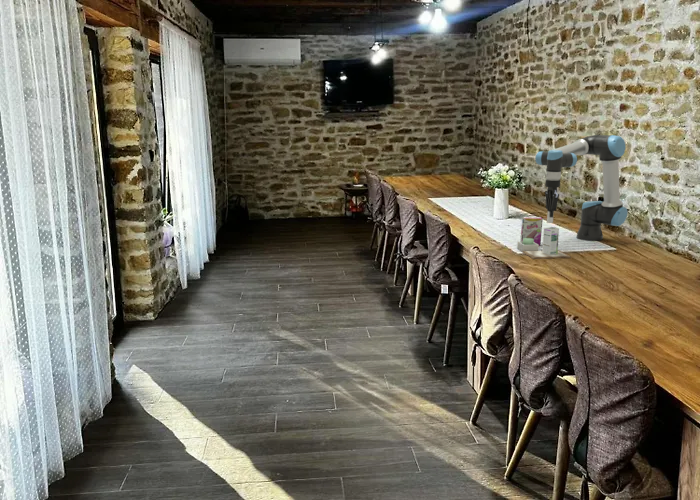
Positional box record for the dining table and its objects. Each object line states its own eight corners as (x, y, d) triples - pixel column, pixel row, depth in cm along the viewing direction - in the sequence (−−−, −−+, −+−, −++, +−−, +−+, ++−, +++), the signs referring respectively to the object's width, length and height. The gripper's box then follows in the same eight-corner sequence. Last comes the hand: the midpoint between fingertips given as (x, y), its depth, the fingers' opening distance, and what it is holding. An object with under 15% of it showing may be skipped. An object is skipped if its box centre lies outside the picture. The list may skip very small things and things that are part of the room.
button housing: (532, 248, 352) (532, 241, 351) (538, 251, 343) (538, 244, 342) (517, 248, 351) (517, 241, 350) (522, 252, 342) (523, 245, 341)
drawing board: (558, 251, 343) (558, 249, 343) (570, 258, 329) (570, 256, 328) (522, 252, 341) (522, 250, 341) (533, 259, 327) (533, 257, 327)
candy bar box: (521, 245, 359) (523, 218, 355) (520, 243, 364) (521, 216, 360) (540, 245, 358) (542, 218, 354) (539, 243, 363) (541, 216, 359)
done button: (530, 244, 350) (531, 237, 349) (535, 246, 344) (535, 239, 343) (520, 244, 349) (521, 237, 348) (524, 247, 343) (525, 240, 342)
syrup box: (549, 255, 331) (551, 229, 327) (541, 253, 336) (543, 227, 332) (557, 254, 333) (559, 228, 330) (549, 252, 338) (551, 226, 335)
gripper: (541, 178, 331) (538, 220, 336) (551, 181, 318) (548, 225, 323) (554, 178, 331) (551, 220, 337) (565, 180, 319) (561, 225, 324)
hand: (549, 222), depth 330 cm, fingers closed
